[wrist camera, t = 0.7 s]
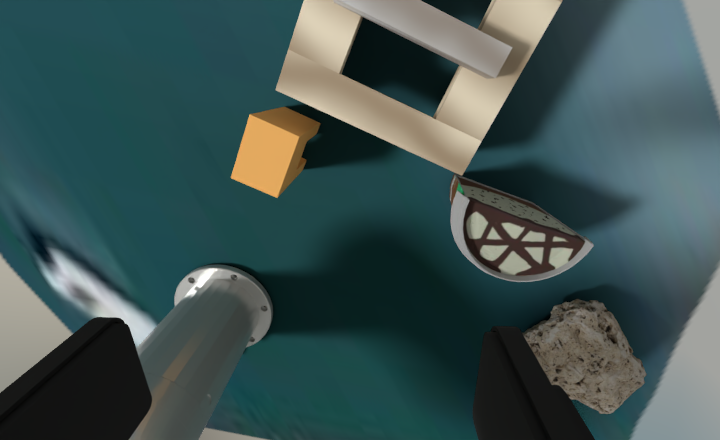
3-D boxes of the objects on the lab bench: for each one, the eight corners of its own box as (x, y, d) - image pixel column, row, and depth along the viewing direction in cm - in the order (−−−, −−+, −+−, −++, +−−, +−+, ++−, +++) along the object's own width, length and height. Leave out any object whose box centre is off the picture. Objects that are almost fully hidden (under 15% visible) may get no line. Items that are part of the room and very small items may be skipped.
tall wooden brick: (302, 169, 37) (277, 197, 28) (268, 154, 37) (230, 178, 27) (320, 123, 35) (299, 136, 26) (284, 106, 35) (249, 114, 25)
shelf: (442, 154, 35) (467, 182, 25) (301, 88, 34) (267, 90, 24) (531, -11, 30) (610, -62, 20) (366, -100, 28) (358, -205, 18)
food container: (418, 218, 38) (430, 261, 29) (441, 168, 36) (462, 197, 27) (516, 253, 39) (559, 305, 30) (544, 206, 37) (600, 247, 28)
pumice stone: (634, 342, 43) (687, 395, 36) (552, 387, 46) (585, 445, 39) (573, 272, 40) (618, 315, 32) (490, 326, 43) (513, 376, 36)
